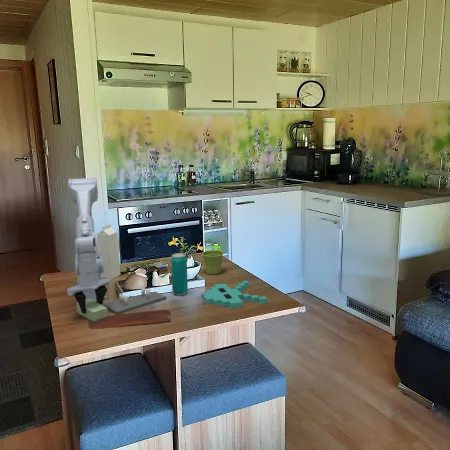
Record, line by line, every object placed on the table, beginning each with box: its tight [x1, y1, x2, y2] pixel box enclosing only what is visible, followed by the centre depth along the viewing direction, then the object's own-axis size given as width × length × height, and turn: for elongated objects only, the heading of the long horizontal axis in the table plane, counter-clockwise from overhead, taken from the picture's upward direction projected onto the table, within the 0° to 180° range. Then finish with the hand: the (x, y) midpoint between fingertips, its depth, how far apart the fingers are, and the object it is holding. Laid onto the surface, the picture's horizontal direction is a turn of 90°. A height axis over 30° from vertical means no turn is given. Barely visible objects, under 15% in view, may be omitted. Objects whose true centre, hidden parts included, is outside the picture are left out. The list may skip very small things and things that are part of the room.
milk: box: [96, 223, 121, 280], centre depth 189 cm, size 6×6×22 cm
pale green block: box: [76, 299, 109, 321], centre depth 152 cm, size 12×5×4 cm, turn 43°
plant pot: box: [201, 249, 225, 275], centre depth 193 cm, size 9×9×9 cm
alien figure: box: [201, 280, 268, 309], centre depth 165 cm, size 20×2×20 cm
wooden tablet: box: [87, 309, 172, 330], centre depth 147 cm, size 27×10×2 cm, turn 100°
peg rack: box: [102, 287, 167, 315], centre depth 161 cm, size 10×20×4 cm, turn 132°
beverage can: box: [170, 252, 189, 296], centre depth 168 cm, size 6×6×15 cm
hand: (91, 310), depth 152 cm, fingers closed on pale green block, 5 cm apart
